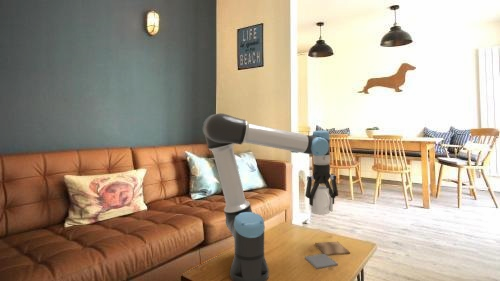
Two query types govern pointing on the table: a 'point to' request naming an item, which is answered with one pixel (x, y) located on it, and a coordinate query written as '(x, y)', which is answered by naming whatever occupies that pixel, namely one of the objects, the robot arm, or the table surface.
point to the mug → (322, 200)
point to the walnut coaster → (332, 248)
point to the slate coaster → (321, 261)
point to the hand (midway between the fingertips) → (321, 211)
